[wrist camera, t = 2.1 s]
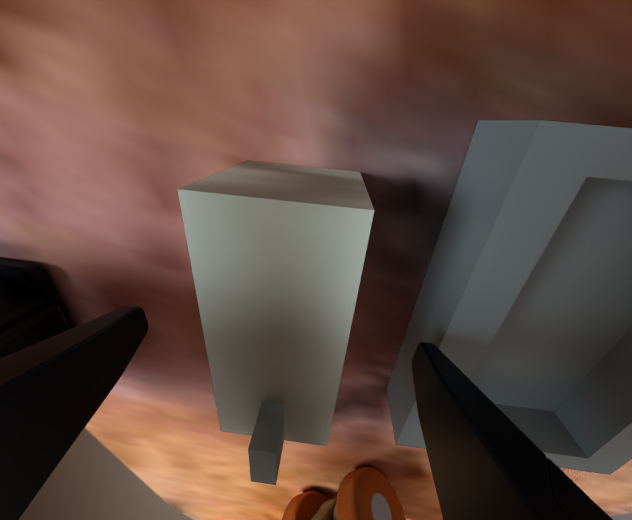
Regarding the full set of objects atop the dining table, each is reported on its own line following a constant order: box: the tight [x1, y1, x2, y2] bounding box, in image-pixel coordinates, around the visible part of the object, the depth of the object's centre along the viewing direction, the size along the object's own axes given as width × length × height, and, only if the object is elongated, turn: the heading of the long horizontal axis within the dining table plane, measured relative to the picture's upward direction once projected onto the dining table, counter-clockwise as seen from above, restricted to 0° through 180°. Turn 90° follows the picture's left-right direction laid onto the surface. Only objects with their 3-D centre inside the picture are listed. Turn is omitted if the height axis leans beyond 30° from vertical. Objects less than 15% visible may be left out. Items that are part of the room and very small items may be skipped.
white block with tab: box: [178, 161, 374, 485], centre depth 9 cm, size 4×9×6 cm, turn 175°
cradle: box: [387, 120, 632, 475], centre depth 10 cm, size 9×13×3 cm
